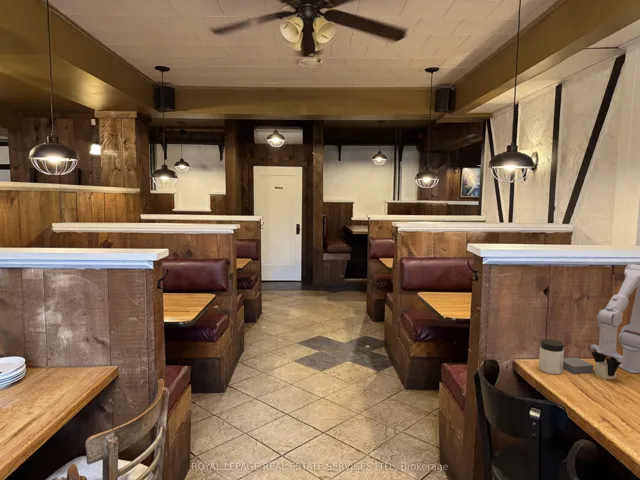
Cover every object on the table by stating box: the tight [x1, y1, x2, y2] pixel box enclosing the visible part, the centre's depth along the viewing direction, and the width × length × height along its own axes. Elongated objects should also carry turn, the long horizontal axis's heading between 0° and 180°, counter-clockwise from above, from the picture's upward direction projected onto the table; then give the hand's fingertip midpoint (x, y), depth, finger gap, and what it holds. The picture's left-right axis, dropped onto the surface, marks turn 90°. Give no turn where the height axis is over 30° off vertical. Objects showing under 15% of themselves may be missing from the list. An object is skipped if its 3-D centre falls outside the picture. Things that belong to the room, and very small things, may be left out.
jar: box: [538, 338, 565, 375], centre depth 173 cm, size 9×8×12 cm
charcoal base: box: [563, 356, 594, 375], centre depth 174 cm, size 9×9×4 cm
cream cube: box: [594, 361, 618, 380], centre depth 167 cm, size 5×5×5 cm
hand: (605, 372), depth 167 cm, fingers closed on cream cube, 5 cm apart
